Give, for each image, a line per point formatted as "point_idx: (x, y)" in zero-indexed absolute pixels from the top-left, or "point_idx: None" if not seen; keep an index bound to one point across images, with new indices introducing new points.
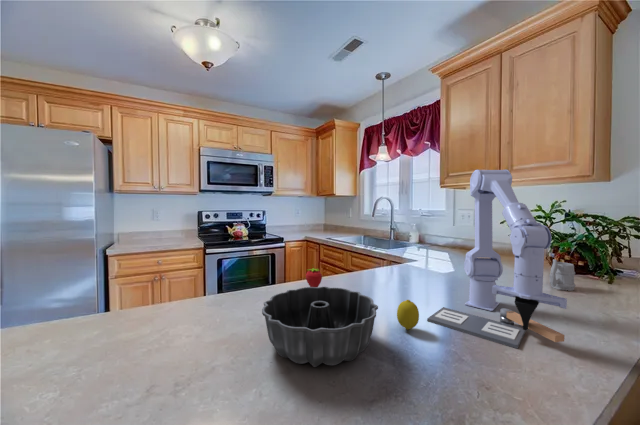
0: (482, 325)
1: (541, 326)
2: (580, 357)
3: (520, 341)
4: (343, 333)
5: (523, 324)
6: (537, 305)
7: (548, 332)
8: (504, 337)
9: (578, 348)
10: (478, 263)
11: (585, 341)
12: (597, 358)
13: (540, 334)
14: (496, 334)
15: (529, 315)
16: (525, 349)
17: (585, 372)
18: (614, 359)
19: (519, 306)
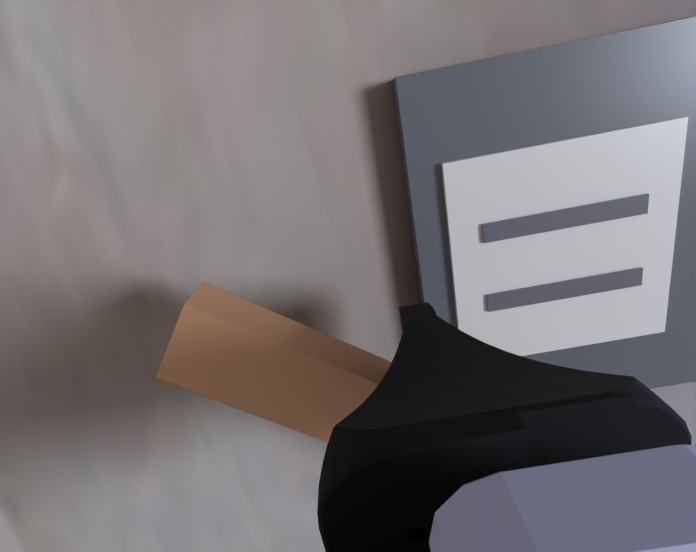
0: (690, 228)
1: (325, 406)
2: (118, 312)
3: (411, 220)
4: None
5: (433, 313)
6: (322, 524)
7: (244, 327)
8: (507, 146)
9: (175, 419)
10: None
11: (193, 526)
12: (71, 374)
13: (316, 331)
14: (568, 140)
15: (401, 368)
16: (351, 128)
17: (4, 114)
18: (30, 429)
19: (558, 380)
